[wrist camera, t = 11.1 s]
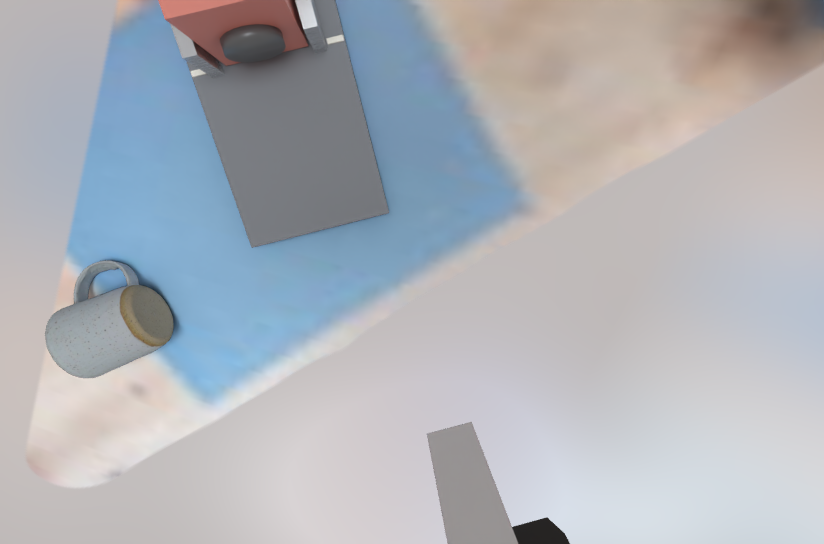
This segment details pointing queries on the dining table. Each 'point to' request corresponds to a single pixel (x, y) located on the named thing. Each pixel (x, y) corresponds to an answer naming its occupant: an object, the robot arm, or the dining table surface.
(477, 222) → the dining table surface
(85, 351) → the ceramic mug
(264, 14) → the pink box with dome
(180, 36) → the grey box holder bracket
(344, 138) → the stand board
